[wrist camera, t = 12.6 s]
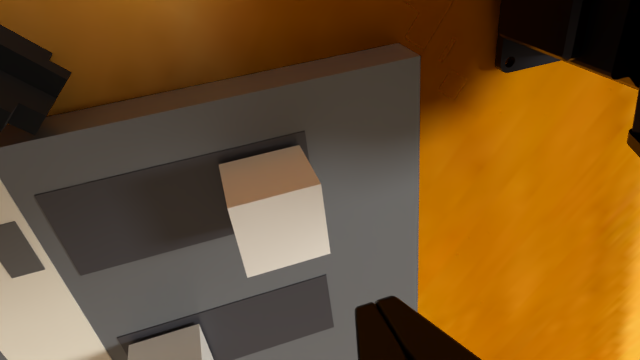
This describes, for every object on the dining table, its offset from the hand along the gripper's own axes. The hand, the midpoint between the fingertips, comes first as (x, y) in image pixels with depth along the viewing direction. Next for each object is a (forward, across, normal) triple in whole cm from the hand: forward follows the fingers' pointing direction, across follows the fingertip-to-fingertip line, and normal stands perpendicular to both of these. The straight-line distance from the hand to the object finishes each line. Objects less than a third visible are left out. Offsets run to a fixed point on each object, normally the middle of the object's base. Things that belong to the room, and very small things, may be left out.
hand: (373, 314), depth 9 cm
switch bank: (+12, +4, +11) cm, 16 cm away
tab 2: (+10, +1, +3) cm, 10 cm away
